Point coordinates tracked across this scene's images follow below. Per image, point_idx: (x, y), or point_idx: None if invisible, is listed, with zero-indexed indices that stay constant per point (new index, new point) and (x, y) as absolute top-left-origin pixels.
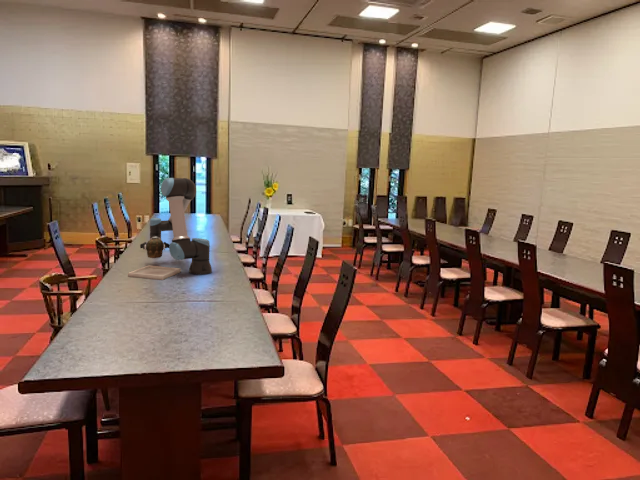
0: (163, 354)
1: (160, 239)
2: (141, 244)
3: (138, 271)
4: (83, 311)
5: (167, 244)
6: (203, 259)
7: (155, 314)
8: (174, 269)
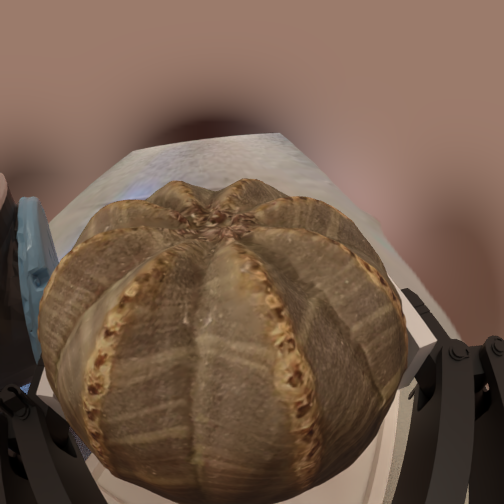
0: (201, 144)
1: (55, 271)
2: (488, 342)
3: (377, 446)
4: (315, 168)
5: (1, 428)
6: None
7: (209, 169)
8: (114, 497)
